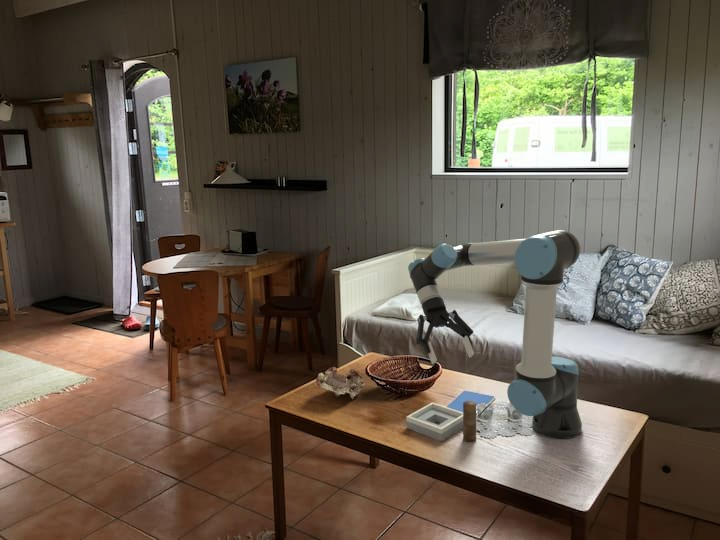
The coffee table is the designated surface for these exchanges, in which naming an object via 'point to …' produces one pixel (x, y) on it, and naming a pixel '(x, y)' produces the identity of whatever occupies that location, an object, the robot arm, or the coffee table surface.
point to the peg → (469, 421)
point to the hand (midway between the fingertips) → (453, 359)
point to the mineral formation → (340, 382)
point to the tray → (435, 412)
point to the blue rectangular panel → (470, 396)
